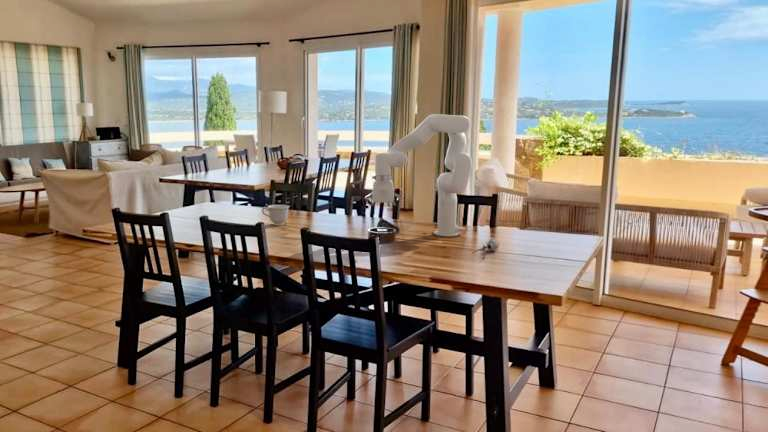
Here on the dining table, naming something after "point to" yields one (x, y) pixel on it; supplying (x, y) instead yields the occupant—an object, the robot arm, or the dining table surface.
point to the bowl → (383, 234)
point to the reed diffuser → (490, 246)
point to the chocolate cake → (387, 225)
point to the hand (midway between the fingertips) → (383, 213)
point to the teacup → (277, 213)
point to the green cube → (382, 230)
